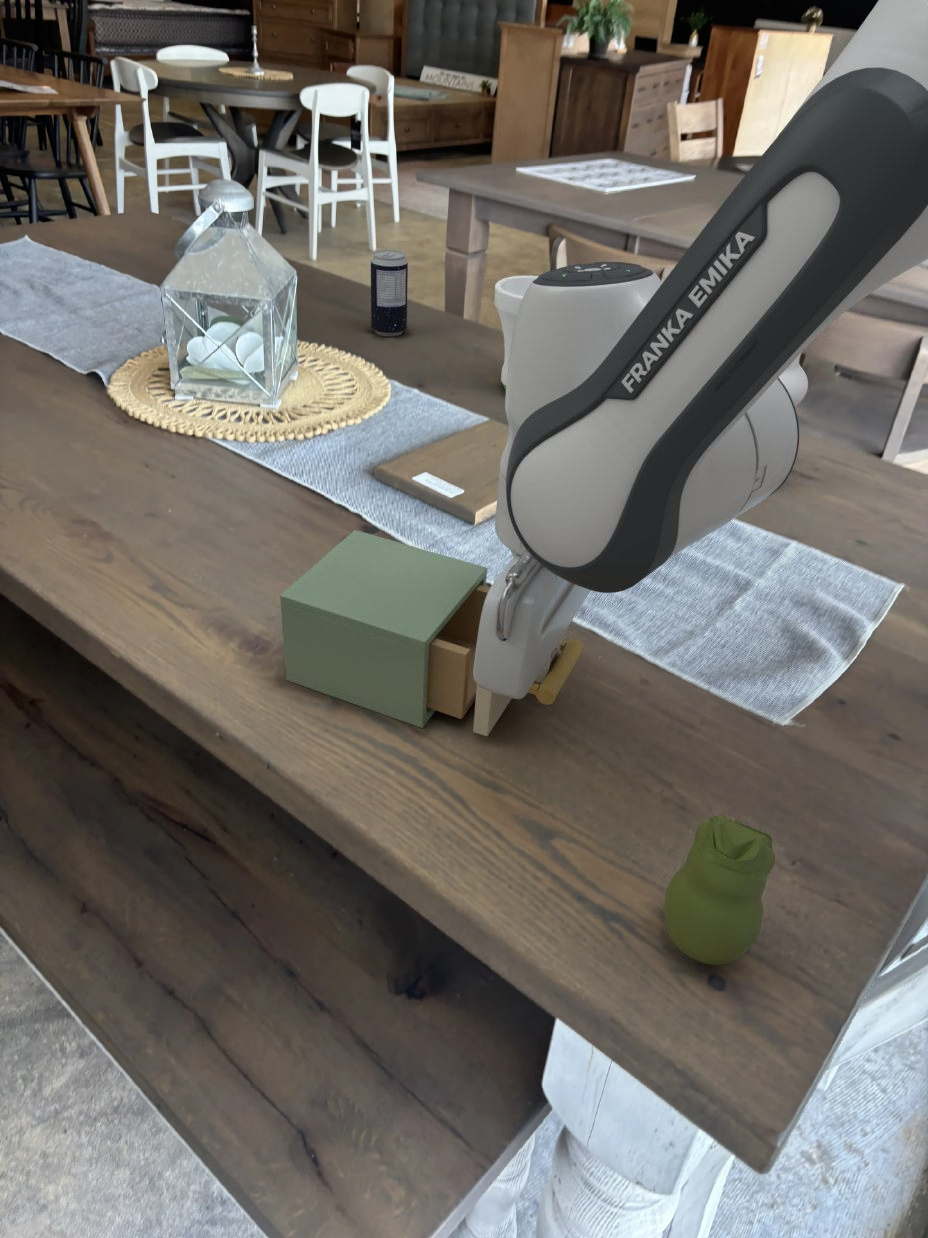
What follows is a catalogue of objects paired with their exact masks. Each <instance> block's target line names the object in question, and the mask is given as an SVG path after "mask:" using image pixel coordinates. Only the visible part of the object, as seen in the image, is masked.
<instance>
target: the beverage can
mask: <svg viewBox="0 0 928 1238" xmlns="http://www.w3.org/2000/svg"><path fill="white" fill-rule="evenodd" d="M372 255H373V256H372V258H371V260H370V327H371V329H372V330H374V332H375V333H376V334H377V335H378V336H382V337H388V338H389V337H391V338H392V337H398V336H401V335H402V334H403V332H404V331H406V330H407V328H408V280H409V276H408V274H409V272H408V271H409V263H408V261H407V258H406V253H405V252H403V251H401V250H396V249H379V250H375V251H374V252H373V253H372Z"/></svg>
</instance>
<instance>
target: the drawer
mask: <svg viewBox="0 0 928 1238" xmlns="http://www.w3.org/2000/svg"><path fill="white" fill-rule="evenodd" d="M490 588H491V587H488V586H486V587H485V586H482V585H479V584H478V586H477V587H476V588H475V589H474V591H473V592H472V593H471V594H470V595H469V597H468V598H467V599H466V600H465V601H464V603H463V604H462V605H461V606H460V608H459V609H458V610H457V611H456V612H455V614H454V615H453V616H452V617H451V618H450V620H449V621H448V622H447V623H446V624H445V626H444V627H443V628H442V629H441V631H440V632H439V633H438V634H437V635H436V637H435V638H434V639H433V640H432V641H431V643H430V644H429V659H428V685H427V707H428V708H430V709H433V710H435V712H439V713H442V714H445V715H448V716H451V717H454V718H457V719H459V720H462V719H463V718H464V717H465V715H466V714H467V712H468V711H469V710H470V708H471V707H472V705H473V704H474V703H475V705H474V715H473V729H472V732H473V733H476V734H478V735H481V736H484V737H488V736H489V734H491V732H492V730H493V729H494V727H495V725H496V724H497V722H498V721H499V719H500V717H501V716H502V714H503V713H504V711H505V710H506V709H507V706H508V705H509V703H510V702H511V700H512V699H513V698H510V697H507V696H503V695H500V694H497V693H494V692H491V691H488V690H486V689H483V688H481V687H480V686H478V685H477V683H476V682H475V680H474V677H473V668H474V660H475V652H476V644H477V638H478V631H479V624H480V619H481V614H482V609H483V605H484V602H485V599H486V596H487V594H488V591H489V589H490ZM584 649H585V645H584V643H583V642H582V641H581V640H580V639H578V638H570V639H568V641H565V640H562V643H561V646H560V651H561V652H559V657H558V658H557V660H556V662H555V663H554V665H553V667H552V668H551V670H550V671H549V673H548V675H547V676H546V678H545V680H544V681H543V683H541V684H538V683H535V682H534V683H533V684H532V686H531V687H530V689H529V691H528V692H527V694H531V695H534V696H536V699H537V700H538V701H539V702H540V703H541V704H543V705H547V706H548V705H551V704H552V705H553V704H554V702H555V701H556V698H557V697H558V695H559V694H560V691H561V690H562V689H563V686H564V685H565V683H566V682H567V679H568V678H569V676H570V674H571V673H572V671H573V669H574V667H575V666H576V664H577V662H578V661H579V659H580V657H581V655H582V653H583V652H584Z"/></svg>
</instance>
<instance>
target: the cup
mask: <svg viewBox="0 0 928 1238" xmlns="http://www.w3.org/2000/svg"><path fill="white" fill-rule="evenodd" d="M538 276H539V275H513V276H508V277H504V278H502V279H499V280H498V281H497V282H496V283H495V285H494V306H495V308H496V310H497V312H498V316H499V319H500V324H501V329H502V335H503V345H504V357H503V361H504V363H503V365H502V366H501V374H500V382H501V383H502V386H503V387H504V391H506V385H507V374H508V365H509V357H510V349H511V343H512V337H513V332H514V327H515V322H516V318H517V314H518V310H519V307H520V304H521V302H522V299H523V296H524V294H525V292H526V290H527V288H528V286H529V285H530V283H531V282H533V281H534V280H535V279H537V278H538Z"/></svg>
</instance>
